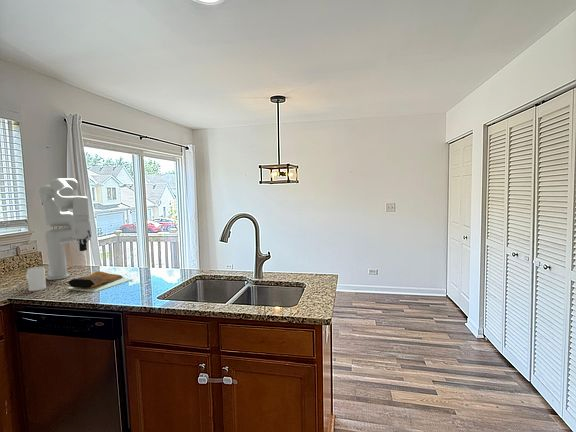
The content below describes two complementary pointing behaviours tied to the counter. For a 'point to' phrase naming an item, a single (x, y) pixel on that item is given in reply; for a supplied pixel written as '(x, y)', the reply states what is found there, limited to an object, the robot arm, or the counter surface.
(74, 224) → the robot arm
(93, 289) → the silicone mat
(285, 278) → the counter surface
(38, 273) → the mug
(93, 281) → the pancake mix bag
